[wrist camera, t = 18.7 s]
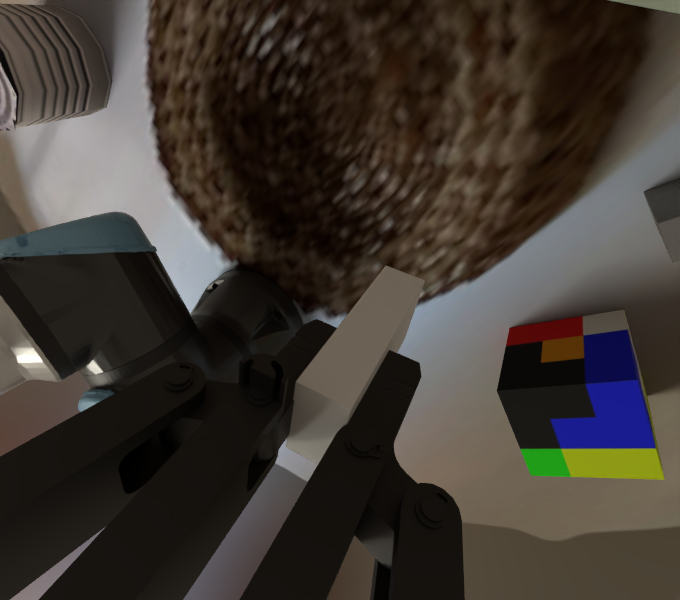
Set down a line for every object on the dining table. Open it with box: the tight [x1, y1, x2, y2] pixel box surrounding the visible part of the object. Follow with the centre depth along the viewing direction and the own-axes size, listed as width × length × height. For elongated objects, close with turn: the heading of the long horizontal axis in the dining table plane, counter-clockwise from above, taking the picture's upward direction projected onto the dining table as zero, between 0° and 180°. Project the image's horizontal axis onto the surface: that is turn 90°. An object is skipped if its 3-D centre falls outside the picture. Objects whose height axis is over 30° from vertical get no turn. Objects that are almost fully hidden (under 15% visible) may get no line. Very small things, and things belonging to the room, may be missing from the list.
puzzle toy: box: [497, 310, 664, 480], centre depth 39 cm, size 10×10×10 cm
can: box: [0, 4, 112, 131], centre depth 46 cm, size 11×11×12 cm
